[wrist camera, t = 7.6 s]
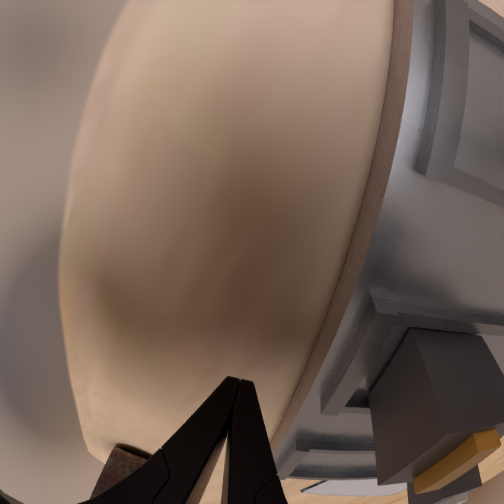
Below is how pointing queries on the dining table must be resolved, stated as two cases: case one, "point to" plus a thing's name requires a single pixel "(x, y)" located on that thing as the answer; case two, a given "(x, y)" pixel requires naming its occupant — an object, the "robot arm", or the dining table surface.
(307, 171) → the dining table surface
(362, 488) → the smartphone
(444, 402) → the breaker mid
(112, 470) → the candle
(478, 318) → the panel
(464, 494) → the breaker
